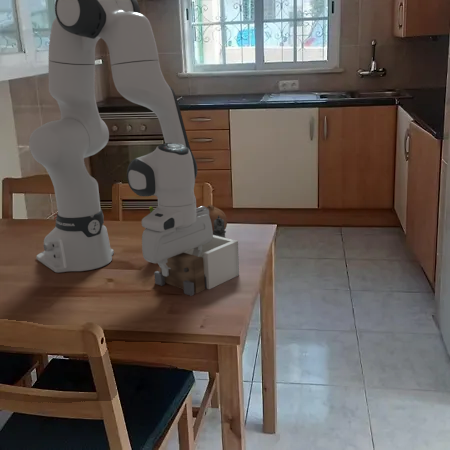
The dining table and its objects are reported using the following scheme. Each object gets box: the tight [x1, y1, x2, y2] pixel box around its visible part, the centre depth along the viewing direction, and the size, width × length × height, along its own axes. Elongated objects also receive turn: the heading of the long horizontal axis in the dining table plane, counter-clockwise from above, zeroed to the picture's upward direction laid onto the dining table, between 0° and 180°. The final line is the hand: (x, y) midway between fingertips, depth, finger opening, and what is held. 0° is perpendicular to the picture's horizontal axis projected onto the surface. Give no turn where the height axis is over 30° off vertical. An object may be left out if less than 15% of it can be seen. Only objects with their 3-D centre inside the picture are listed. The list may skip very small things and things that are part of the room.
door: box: [159, 252, 206, 294], centre depth 140 cm, size 12×4×8 cm, turn 49°
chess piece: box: [213, 216, 227, 238], centre depth 157 cm, size 6×6×12 cm
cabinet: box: [153, 235, 240, 297], centre depth 144 cm, size 14×16×9 cm
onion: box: [205, 203, 228, 235], centre depth 175 cm, size 10×9×10 cm
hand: (181, 269), depth 140 cm, fingers open, 8 cm apart
